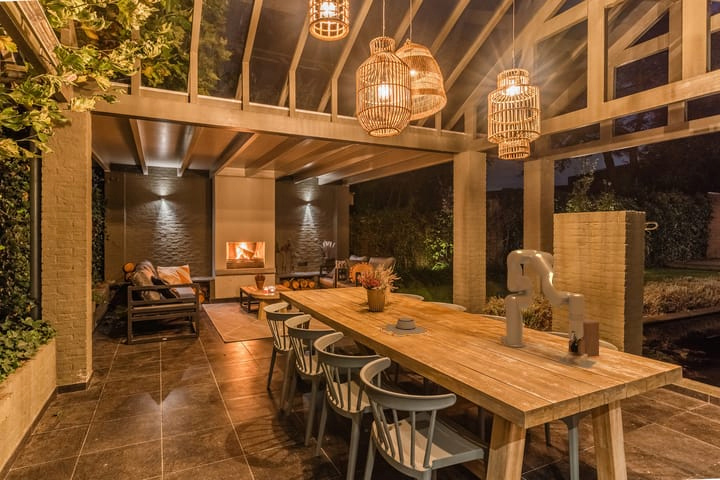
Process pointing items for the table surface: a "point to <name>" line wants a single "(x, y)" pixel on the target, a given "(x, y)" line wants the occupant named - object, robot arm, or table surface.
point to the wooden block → (591, 337)
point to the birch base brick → (577, 358)
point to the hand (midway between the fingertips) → (576, 350)
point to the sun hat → (404, 327)
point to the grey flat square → (586, 365)
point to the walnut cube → (580, 346)
